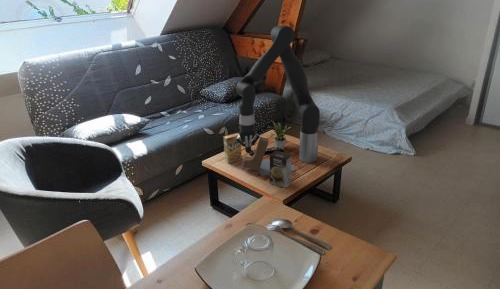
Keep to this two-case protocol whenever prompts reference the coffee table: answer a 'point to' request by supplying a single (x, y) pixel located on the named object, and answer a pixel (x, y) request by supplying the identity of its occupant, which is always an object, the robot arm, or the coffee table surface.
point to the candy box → (232, 148)
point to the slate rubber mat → (268, 168)
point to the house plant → (279, 136)
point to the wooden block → (256, 155)
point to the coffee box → (280, 168)
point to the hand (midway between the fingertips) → (248, 152)
